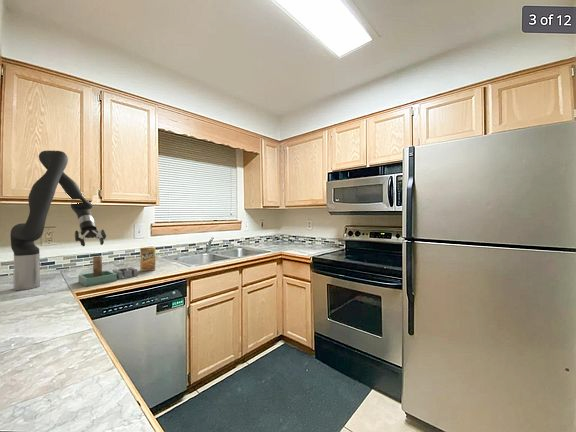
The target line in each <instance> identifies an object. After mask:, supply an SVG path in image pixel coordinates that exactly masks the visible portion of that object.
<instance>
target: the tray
mask: <svg viewBox="0 0 576 432" xmlns="http://www.w3.org/2000/svg"><path fill="white" fill-rule="evenodd" d="M77 276H78V278H77V281H78V283H79V284H81V285H82V286H84V287H93V286H97V285H103V284H107V283H113V282H117V280H118V279H117V274H116V273H113V272H112V270H102V276H99V277H93V272H87V273H84V274H78V275H77Z"/></svg>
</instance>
